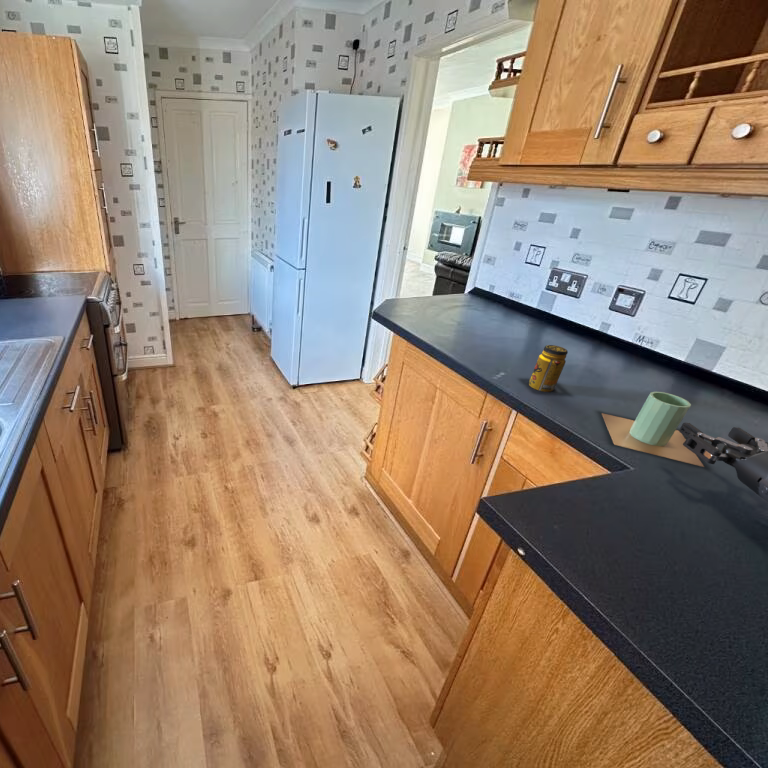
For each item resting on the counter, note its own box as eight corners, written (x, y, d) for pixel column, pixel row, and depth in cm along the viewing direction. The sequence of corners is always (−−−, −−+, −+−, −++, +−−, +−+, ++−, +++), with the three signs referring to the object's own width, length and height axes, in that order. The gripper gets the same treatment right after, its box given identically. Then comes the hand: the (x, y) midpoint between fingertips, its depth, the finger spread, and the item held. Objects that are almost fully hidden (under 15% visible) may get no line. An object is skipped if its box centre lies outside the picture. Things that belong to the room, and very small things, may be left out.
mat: (678, 432, 96) (679, 430, 96) (703, 468, 84) (704, 467, 84) (600, 414, 102) (601, 413, 102) (613, 446, 90) (614, 444, 90)
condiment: (521, 381, 117) (536, 342, 111) (552, 383, 116) (569, 344, 111) (534, 394, 110) (550, 353, 105) (567, 396, 110) (585, 355, 104)
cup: (661, 434, 94) (684, 396, 89) (671, 449, 89) (695, 410, 84) (626, 426, 97) (646, 388, 92) (632, 440, 92) (654, 401, 87)
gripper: (859, 472, 63) (760, 416, 77) (754, 462, 65) (676, 408, 79) (825, 508, 67) (737, 448, 81) (726, 498, 68) (657, 440, 82)
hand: (707, 428), depth 80 cm, fingers open, 8 cm apart
